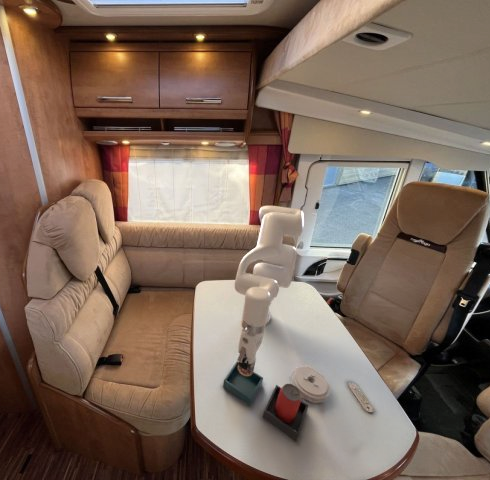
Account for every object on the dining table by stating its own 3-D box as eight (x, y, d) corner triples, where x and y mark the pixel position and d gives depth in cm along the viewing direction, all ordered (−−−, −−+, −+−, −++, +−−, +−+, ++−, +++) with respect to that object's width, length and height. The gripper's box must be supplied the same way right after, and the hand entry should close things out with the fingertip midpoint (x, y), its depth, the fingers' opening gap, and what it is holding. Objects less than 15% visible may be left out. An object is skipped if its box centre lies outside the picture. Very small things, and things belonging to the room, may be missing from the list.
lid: (283, 377, 93) (286, 369, 91) (308, 367, 97) (311, 359, 95) (308, 409, 82) (311, 401, 80) (334, 397, 86) (338, 388, 84)
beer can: (296, 426, 77) (304, 404, 72) (275, 421, 78) (282, 400, 73) (292, 405, 83) (300, 384, 78) (273, 401, 84) (279, 380, 79)
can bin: (274, 391, 88) (276, 384, 86) (305, 411, 82) (308, 404, 80) (262, 417, 80) (264, 410, 78) (296, 442, 74) (299, 435, 72)
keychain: (375, 411, 81) (367, 411, 81) (374, 412, 82) (366, 412, 81) (354, 381, 91) (347, 382, 91) (354, 382, 91) (346, 383, 91)
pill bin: (236, 367, 96) (236, 361, 94) (261, 384, 90) (263, 377, 88) (223, 386, 89) (223, 380, 87) (250, 406, 83) (251, 399, 81)
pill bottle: (234, 369, 85) (237, 350, 81) (242, 359, 89) (245, 341, 85) (248, 380, 82) (251, 361, 78) (256, 369, 86) (260, 350, 81)
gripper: (252, 346, 67) (245, 385, 75) (274, 313, 80) (266, 350, 87) (230, 333, 72) (225, 372, 79) (254, 303, 84) (248, 340, 92)
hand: (247, 360), depth 83 cm, fingers closed on pill bottle, 5 cm apart
